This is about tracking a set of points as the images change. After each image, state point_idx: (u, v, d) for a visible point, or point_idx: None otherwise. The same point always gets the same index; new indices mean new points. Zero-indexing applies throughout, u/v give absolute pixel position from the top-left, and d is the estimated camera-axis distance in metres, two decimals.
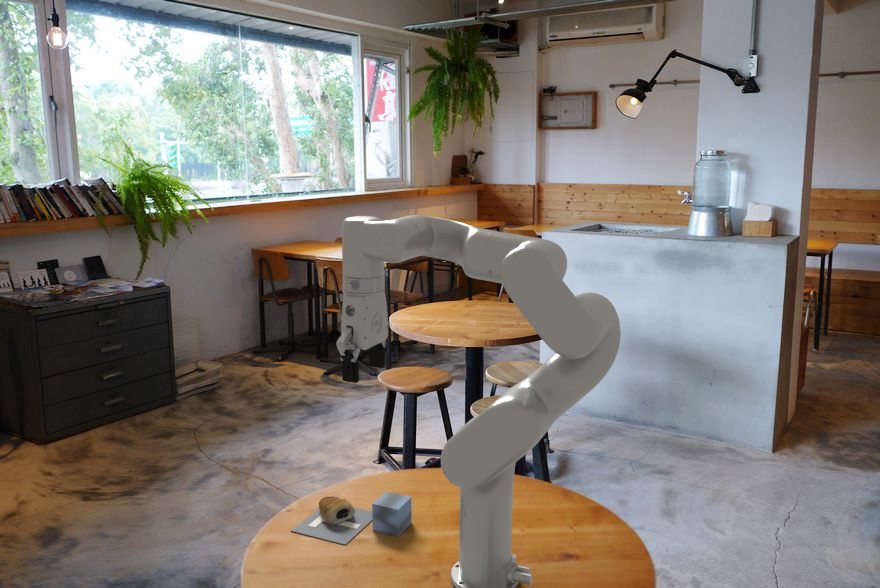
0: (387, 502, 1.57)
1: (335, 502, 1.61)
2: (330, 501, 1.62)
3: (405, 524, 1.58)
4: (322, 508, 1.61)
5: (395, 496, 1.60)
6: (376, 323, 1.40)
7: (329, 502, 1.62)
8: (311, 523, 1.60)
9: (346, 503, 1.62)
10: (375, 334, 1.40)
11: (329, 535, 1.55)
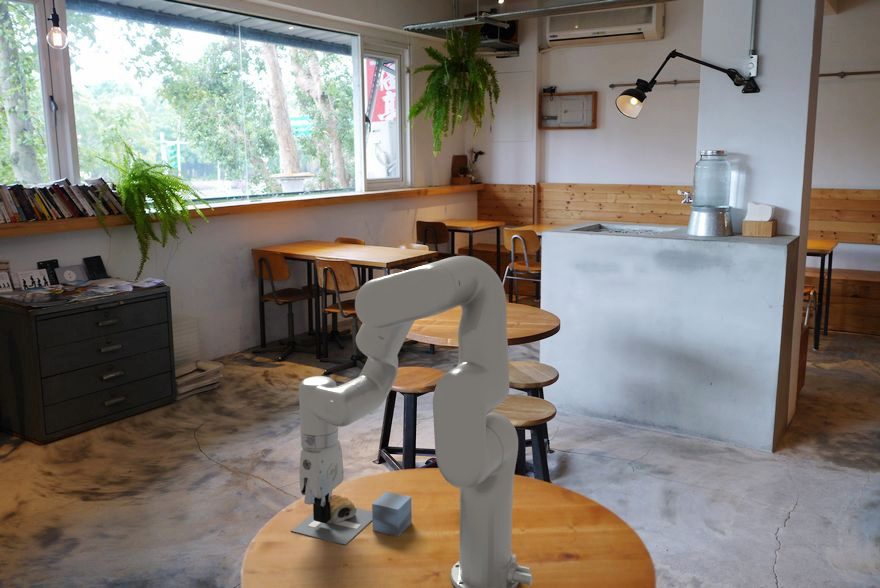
0: (387, 502, 1.57)
1: (336, 501, 1.62)
2: (332, 500, 1.62)
3: (405, 524, 1.58)
4: None
5: (395, 496, 1.60)
6: (332, 472, 1.55)
7: (331, 501, 1.62)
8: (311, 523, 1.60)
9: (348, 502, 1.62)
10: (331, 482, 1.55)
11: (329, 535, 1.55)
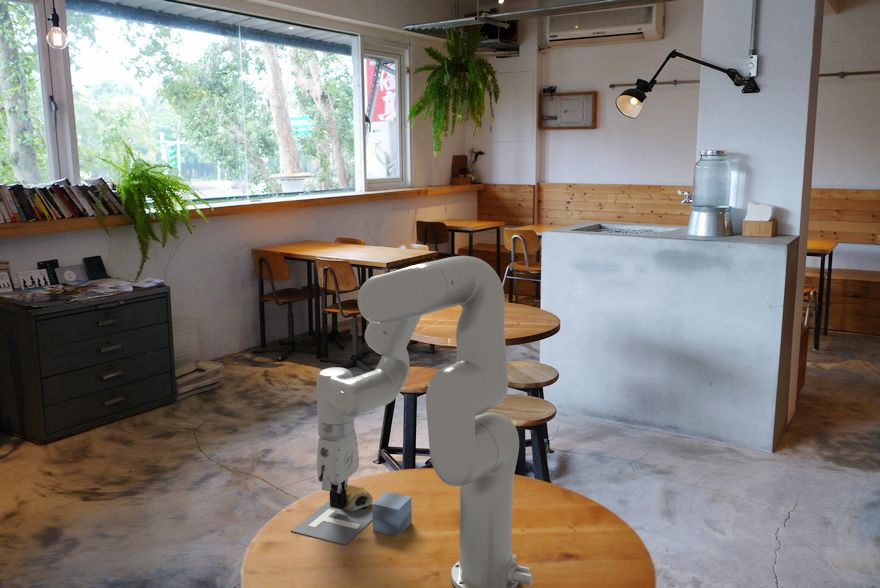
0: (387, 502, 1.57)
1: (353, 489, 1.67)
2: (349, 489, 1.68)
3: (405, 524, 1.58)
4: None
5: (395, 496, 1.60)
6: (348, 459, 1.61)
7: (348, 490, 1.67)
8: (311, 523, 1.60)
9: (364, 491, 1.68)
10: (347, 469, 1.61)
11: (329, 535, 1.55)
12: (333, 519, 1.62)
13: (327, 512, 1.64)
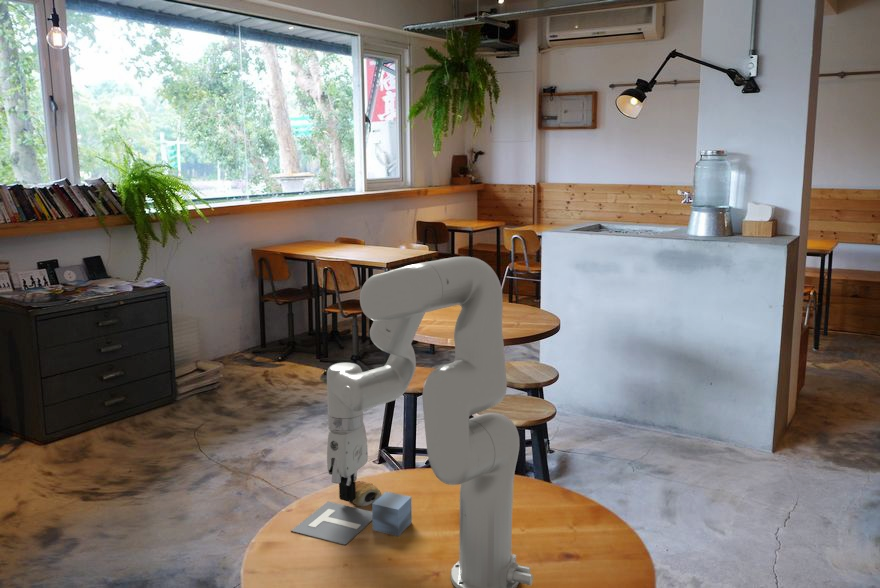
0: (387, 502, 1.57)
1: (362, 486, 1.70)
2: (358, 485, 1.71)
3: (405, 524, 1.58)
4: None
5: (395, 496, 1.60)
6: (357, 453, 1.64)
7: (357, 486, 1.71)
8: (311, 523, 1.60)
9: (373, 487, 1.71)
10: (356, 462, 1.64)
11: (329, 535, 1.55)
12: (333, 519, 1.62)
13: (327, 512, 1.64)
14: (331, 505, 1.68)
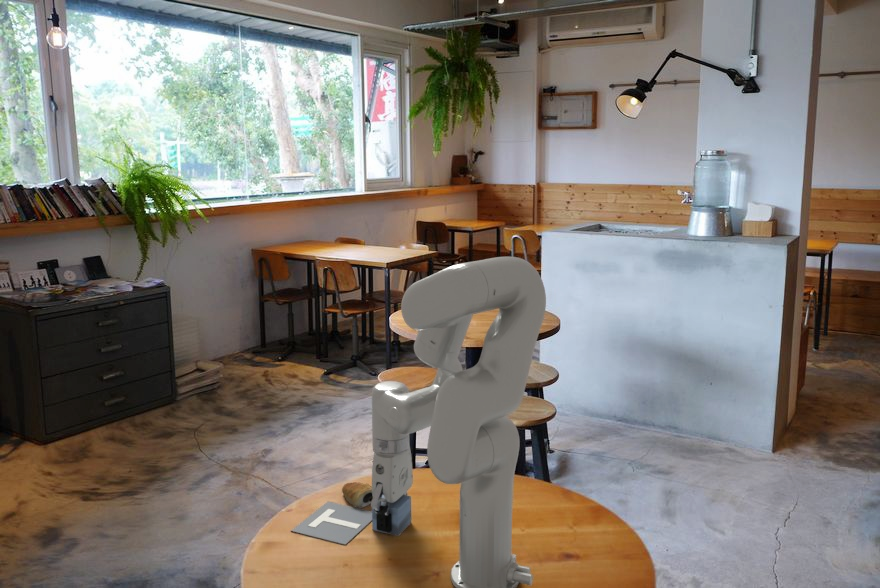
0: None
1: (360, 487, 1.70)
2: (355, 486, 1.70)
3: (405, 523, 1.58)
4: (348, 493, 1.69)
5: None
6: (403, 476, 1.56)
7: (354, 487, 1.70)
8: (311, 523, 1.60)
9: (370, 487, 1.70)
10: (402, 486, 1.56)
11: (329, 535, 1.55)
12: (333, 519, 1.62)
13: (327, 512, 1.64)
14: (331, 505, 1.68)
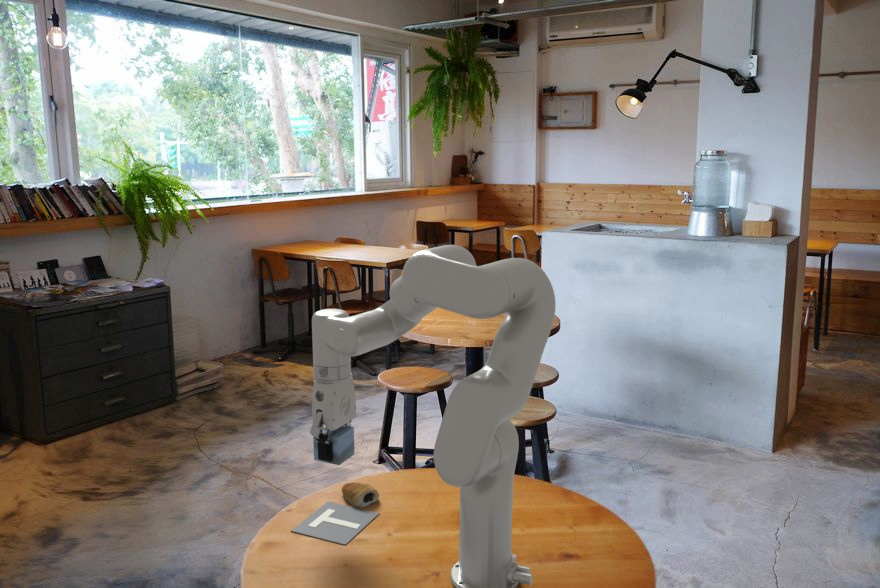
0: None
1: (360, 487, 1.70)
2: (355, 486, 1.70)
3: (347, 454, 1.57)
4: (348, 493, 1.69)
5: None
6: (344, 405, 1.54)
7: (354, 487, 1.70)
8: (311, 523, 1.60)
9: (370, 487, 1.70)
10: (343, 415, 1.54)
11: (329, 535, 1.55)
12: (333, 519, 1.62)
13: (327, 512, 1.64)
14: (331, 505, 1.68)
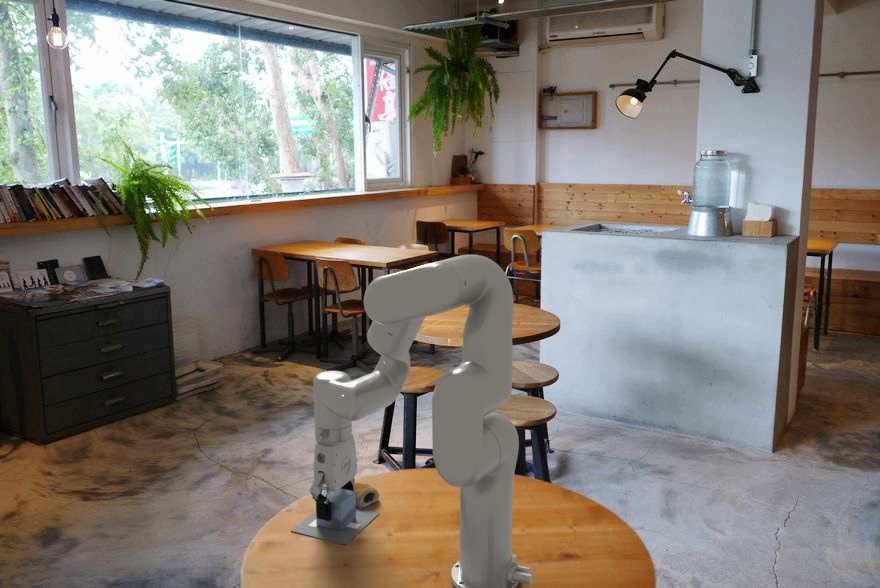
0: (330, 497, 1.59)
1: (360, 487, 1.69)
2: (355, 487, 1.70)
3: (349, 518, 1.60)
4: None
5: (339, 491, 1.61)
6: (345, 465, 1.57)
7: (354, 487, 1.70)
8: (311, 523, 1.60)
9: (370, 487, 1.70)
10: (345, 475, 1.57)
11: (329, 535, 1.55)
12: None
13: None
14: None
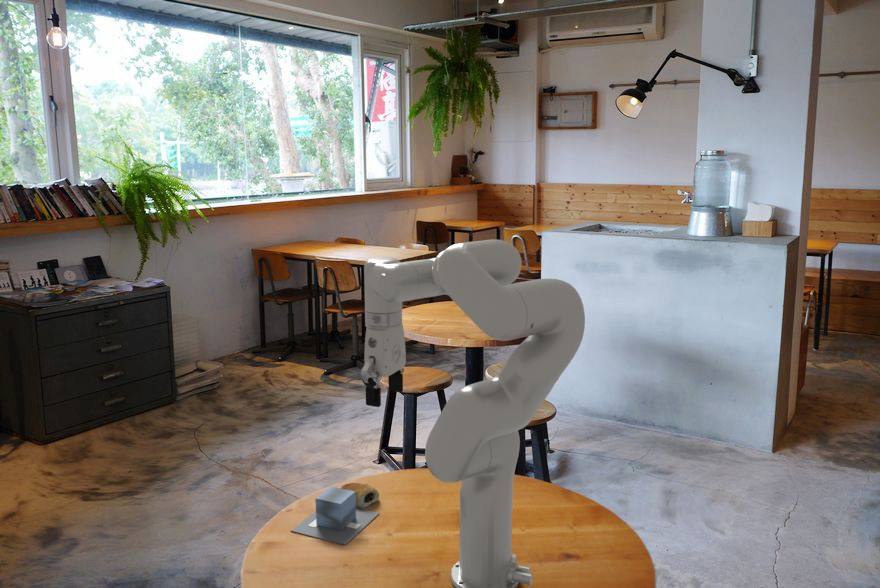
0: (330, 497, 1.59)
1: (360, 487, 1.69)
2: (355, 487, 1.70)
3: (349, 518, 1.60)
4: None
5: (339, 491, 1.61)
6: (396, 353, 1.56)
7: (354, 488, 1.69)
8: (311, 523, 1.60)
9: (370, 487, 1.70)
10: (395, 363, 1.56)
11: (329, 535, 1.55)
12: None
13: None
14: None
